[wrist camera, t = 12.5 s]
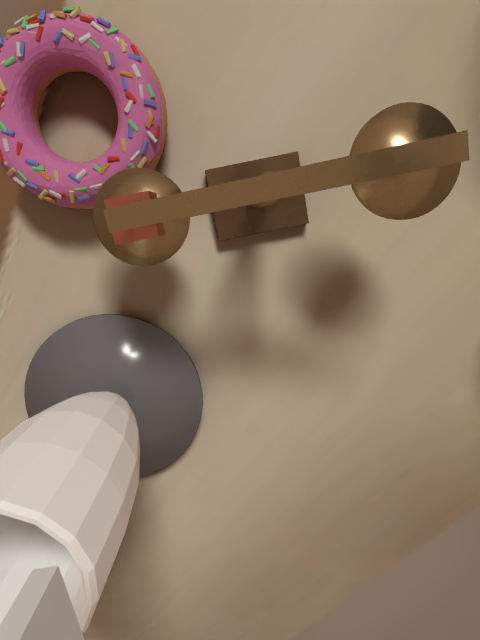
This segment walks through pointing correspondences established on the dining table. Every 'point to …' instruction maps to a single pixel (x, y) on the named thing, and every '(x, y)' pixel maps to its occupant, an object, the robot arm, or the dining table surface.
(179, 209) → the balance
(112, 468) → the cup
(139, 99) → the donut
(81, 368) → the grey flat disc
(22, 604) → the robot arm
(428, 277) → the dining table surface
